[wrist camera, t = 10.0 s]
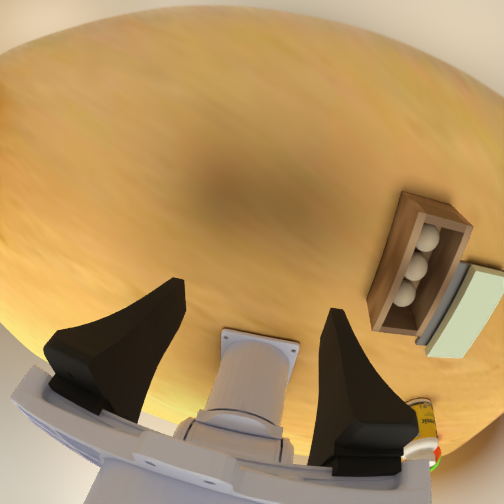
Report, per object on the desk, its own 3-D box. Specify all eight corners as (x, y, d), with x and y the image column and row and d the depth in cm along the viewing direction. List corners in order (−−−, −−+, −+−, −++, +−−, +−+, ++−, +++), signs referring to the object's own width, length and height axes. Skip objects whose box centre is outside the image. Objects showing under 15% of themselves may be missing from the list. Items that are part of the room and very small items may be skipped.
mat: (463, 345, 24) (464, 348, 24) (415, 341, 25) (415, 344, 25) (506, 271, 19) (508, 274, 19) (457, 260, 20) (459, 262, 20)
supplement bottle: (436, 404, 30) (446, 462, 22) (405, 419, 33) (410, 476, 25) (422, 392, 29) (432, 457, 21) (389, 409, 32) (392, 471, 24)
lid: (458, 348, 24) (462, 358, 23) (423, 346, 25) (426, 356, 24) (504, 269, 19) (511, 278, 18) (469, 261, 20) (475, 270, 18)
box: (410, 305, 23) (420, 336, 20) (366, 299, 24) (371, 330, 21) (451, 205, 18) (473, 226, 15) (401, 191, 19) (418, 211, 15)
